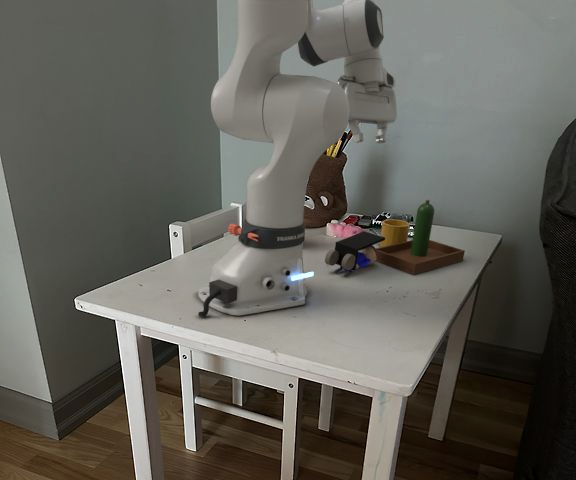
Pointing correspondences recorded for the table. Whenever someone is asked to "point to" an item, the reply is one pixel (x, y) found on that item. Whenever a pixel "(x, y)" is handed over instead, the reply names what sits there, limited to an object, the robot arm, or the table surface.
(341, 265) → the figurine character
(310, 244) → the table surface
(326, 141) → the robot arm
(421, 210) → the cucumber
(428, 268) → the tray
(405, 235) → the cup
